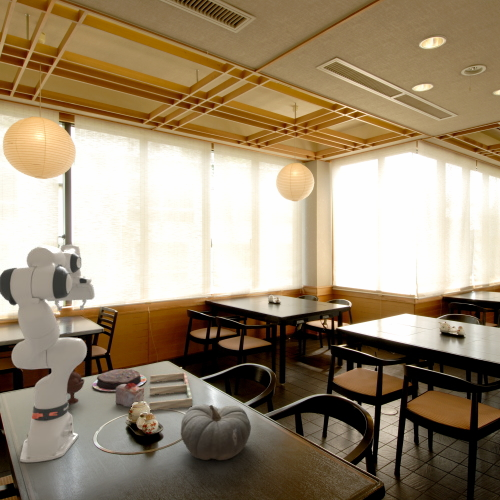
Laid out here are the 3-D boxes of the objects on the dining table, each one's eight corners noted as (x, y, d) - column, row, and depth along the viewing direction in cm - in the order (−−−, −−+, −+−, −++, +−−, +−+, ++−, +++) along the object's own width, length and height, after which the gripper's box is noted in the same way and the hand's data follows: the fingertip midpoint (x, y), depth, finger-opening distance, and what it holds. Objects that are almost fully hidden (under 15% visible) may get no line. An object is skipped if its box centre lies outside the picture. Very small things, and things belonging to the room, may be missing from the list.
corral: (192, 406, 180) (192, 398, 180) (149, 411, 175) (149, 403, 175) (185, 378, 218) (185, 372, 218) (150, 381, 214) (150, 375, 214)
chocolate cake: (157, 380, 216) (157, 369, 216) (116, 397, 193) (115, 384, 193) (123, 372, 231) (123, 361, 231) (81, 387, 207) (80, 374, 207)
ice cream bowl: (78, 406, 181) (78, 374, 181) (55, 406, 182) (54, 374, 181) (88, 397, 192) (88, 367, 192) (66, 397, 192) (65, 367, 192)
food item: (146, 404, 183) (146, 383, 183) (134, 410, 176) (134, 388, 176) (125, 399, 190) (125, 378, 189) (112, 405, 182) (112, 384, 182)
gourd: (172, 432, 148) (180, 388, 148) (233, 432, 157) (241, 390, 156) (184, 475, 125) (193, 423, 124) (255, 471, 134) (264, 423, 133)
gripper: (43, 281, 173) (44, 312, 173) (92, 279, 178) (93, 310, 178) (47, 280, 179) (47, 310, 179) (94, 278, 184) (95, 308, 184)
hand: (70, 310), depth 179 cm, fingers open, 8 cm apart
